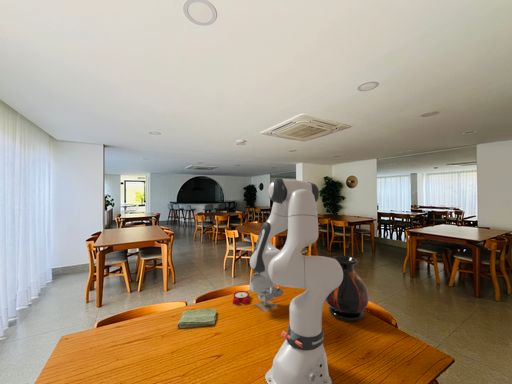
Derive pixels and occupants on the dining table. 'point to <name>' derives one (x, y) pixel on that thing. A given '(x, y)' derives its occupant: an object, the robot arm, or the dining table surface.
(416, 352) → the dining table surface
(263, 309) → the stand
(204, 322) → the washcloth
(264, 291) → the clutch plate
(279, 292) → the hub
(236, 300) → the alarm clock
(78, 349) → the dining table surface
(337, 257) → the amphora vase
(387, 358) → the dining table surface
